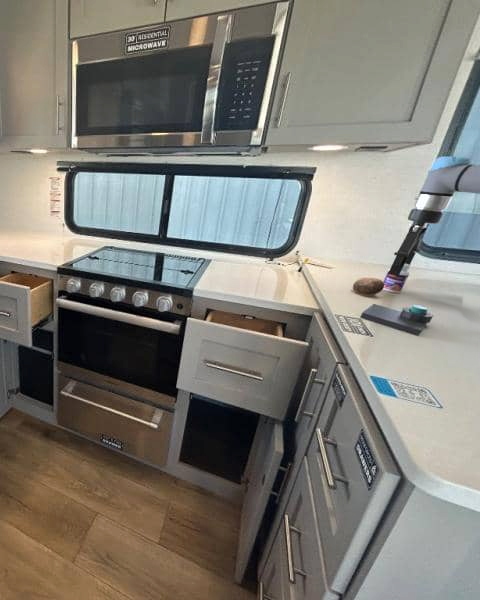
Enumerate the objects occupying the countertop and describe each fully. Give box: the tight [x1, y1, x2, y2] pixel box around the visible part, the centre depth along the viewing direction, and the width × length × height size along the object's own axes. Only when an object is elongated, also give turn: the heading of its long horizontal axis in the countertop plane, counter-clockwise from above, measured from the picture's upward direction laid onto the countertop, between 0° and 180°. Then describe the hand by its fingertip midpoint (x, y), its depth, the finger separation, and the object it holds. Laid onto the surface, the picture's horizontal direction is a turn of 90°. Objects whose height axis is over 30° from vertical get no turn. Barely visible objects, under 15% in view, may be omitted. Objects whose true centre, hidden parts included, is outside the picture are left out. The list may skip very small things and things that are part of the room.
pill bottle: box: [382, 264, 411, 294], centre depth 114 cm, size 5×5×10 cm
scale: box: [360, 303, 434, 337], centre depth 90 cm, size 12×12×4 cm
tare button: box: [410, 304, 429, 315], centre depth 89 cm, size 3×3×2 cm
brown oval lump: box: [352, 277, 384, 297], centre depth 109 cm, size 8×8×6 cm
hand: (397, 272), depth 114 cm, fingers open, 13 cm apart
